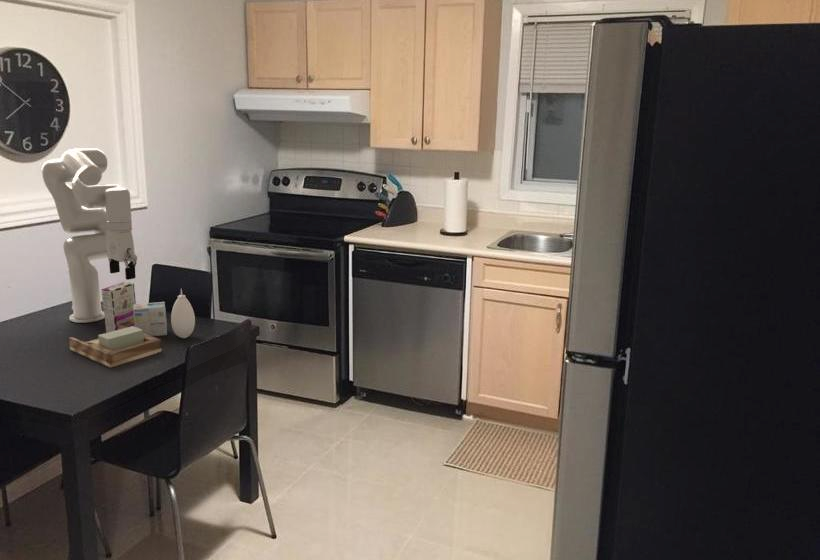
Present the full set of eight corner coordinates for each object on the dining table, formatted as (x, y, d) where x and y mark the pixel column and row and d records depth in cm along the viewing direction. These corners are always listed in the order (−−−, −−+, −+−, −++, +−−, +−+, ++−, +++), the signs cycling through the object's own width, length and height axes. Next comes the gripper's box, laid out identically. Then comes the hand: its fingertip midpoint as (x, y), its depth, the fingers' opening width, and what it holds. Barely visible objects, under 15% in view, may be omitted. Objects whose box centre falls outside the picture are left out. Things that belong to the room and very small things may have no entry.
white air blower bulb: (198, 333, 234) (195, 285, 230) (192, 341, 227) (189, 291, 222) (176, 333, 234) (173, 285, 230) (169, 341, 227) (165, 291, 222)
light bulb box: (167, 329, 238) (165, 301, 235) (167, 335, 232) (165, 306, 229) (135, 332, 234) (133, 303, 232) (135, 338, 228) (132, 308, 226)
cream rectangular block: (99, 352, 211) (98, 335, 209) (134, 342, 220) (132, 326, 219) (109, 357, 208) (108, 339, 206) (144, 347, 217) (143, 329, 215)
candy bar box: (127, 323, 243) (123, 281, 238) (138, 325, 241) (135, 282, 237) (104, 333, 232) (100, 288, 228) (116, 335, 231) (112, 290, 227)
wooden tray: (70, 349, 216) (68, 337, 215) (121, 335, 230) (120, 324, 229) (110, 367, 203) (109, 354, 202) (161, 351, 217) (160, 339, 216)
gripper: (94, 222, 218) (98, 272, 222) (122, 232, 208) (126, 283, 213) (116, 220, 223) (119, 268, 228) (144, 229, 213) (147, 279, 218)
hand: (122, 275), depth 220 cm, fingers open, 9 cm apart
